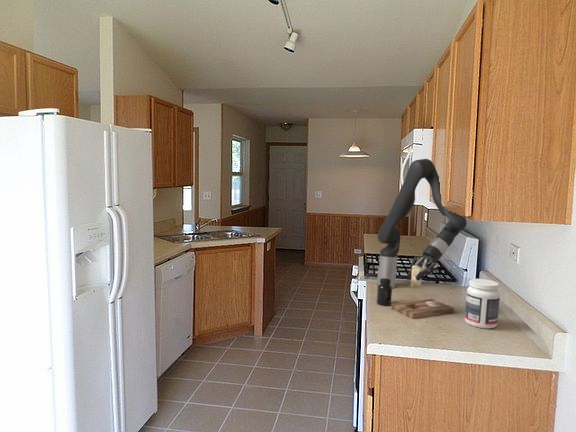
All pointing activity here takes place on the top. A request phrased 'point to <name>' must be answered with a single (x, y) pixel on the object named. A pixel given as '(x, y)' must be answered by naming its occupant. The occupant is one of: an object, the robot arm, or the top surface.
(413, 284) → the birch peg
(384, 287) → the supplement bottle
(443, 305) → the walnut board
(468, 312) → the supplement tub
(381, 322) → the top surface
